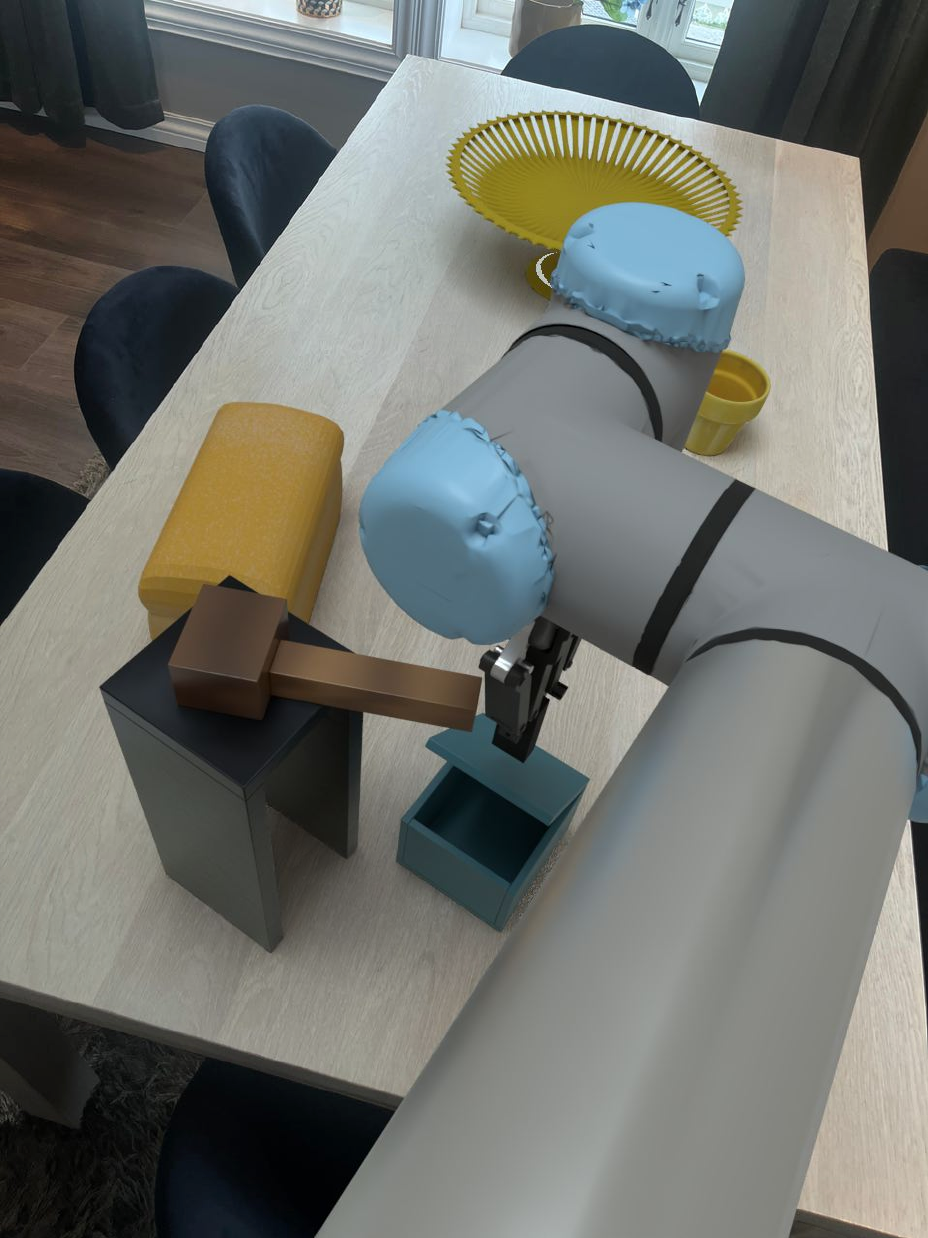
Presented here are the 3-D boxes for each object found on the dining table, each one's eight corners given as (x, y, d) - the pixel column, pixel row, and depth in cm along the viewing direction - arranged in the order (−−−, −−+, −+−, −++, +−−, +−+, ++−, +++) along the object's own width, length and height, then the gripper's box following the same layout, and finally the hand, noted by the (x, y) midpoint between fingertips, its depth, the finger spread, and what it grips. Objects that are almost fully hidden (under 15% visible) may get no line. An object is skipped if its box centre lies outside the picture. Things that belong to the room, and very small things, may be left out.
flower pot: (757, 439, 117) (787, 376, 109) (717, 479, 112) (745, 415, 104) (688, 400, 120) (712, 336, 113) (646, 436, 115) (668, 371, 107)
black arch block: (271, 953, 72) (243, 789, 51) (165, 873, 75) (98, 686, 54) (358, 846, 78) (366, 659, 57) (257, 776, 81) (229, 573, 60)
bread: (229, 490, 102) (215, 378, 90) (345, 510, 102) (346, 401, 90) (154, 669, 86) (126, 563, 75) (290, 693, 86) (283, 590, 75)
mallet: (177, 705, 53) (167, 665, 50) (210, 624, 57) (203, 582, 54) (467, 759, 53) (475, 722, 50) (481, 675, 57) (490, 636, 54)
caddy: (500, 933, 75) (514, 896, 69) (395, 860, 77) (400, 819, 71) (568, 827, 81) (587, 785, 75) (469, 764, 84) (480, 718, 78)
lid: (548, 826, 63) (553, 817, 63) (424, 747, 66) (428, 737, 66) (586, 786, 75) (590, 778, 75) (478, 720, 78) (482, 712, 77)
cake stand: (376, 269, 131) (380, 163, 120) (545, 180, 153) (563, 83, 141) (608, 405, 118) (638, 301, 106) (757, 288, 139) (796, 190, 128)
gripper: (578, 421, 53) (515, 661, 71) (450, 554, 45) (417, 783, 64) (696, 480, 51) (600, 712, 69) (583, 629, 43) (509, 844, 62)
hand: (512, 746), depth 66 cm, fingers closed
